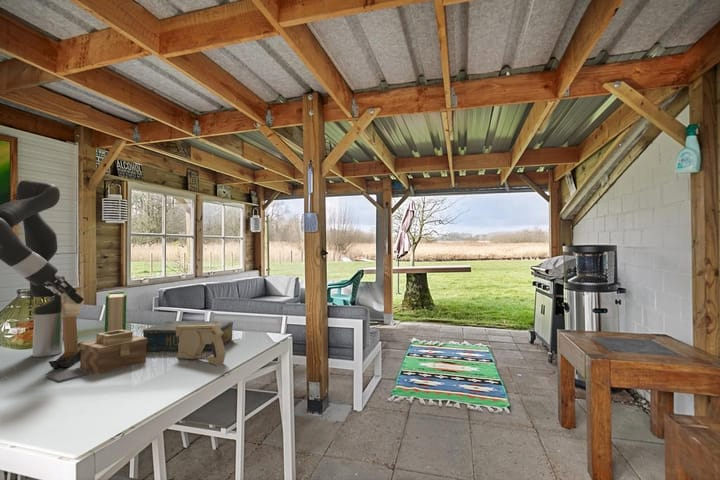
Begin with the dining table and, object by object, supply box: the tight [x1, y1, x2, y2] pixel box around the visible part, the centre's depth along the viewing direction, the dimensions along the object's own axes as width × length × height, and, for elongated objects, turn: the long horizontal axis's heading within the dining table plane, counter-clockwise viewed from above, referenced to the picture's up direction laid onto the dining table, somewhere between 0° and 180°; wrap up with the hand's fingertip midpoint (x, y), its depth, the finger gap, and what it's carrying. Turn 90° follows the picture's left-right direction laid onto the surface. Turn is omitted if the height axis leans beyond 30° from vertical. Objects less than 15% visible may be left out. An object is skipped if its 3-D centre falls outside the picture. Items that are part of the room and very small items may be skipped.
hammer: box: [48, 296, 84, 369], centre depth 131 cm, size 20×5×30 cm, turn 18°
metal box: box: [142, 320, 234, 353], centre depth 157 cm, size 21×32×10 cm, turn 90°
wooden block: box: [61, 286, 82, 317], centre depth 119 cm, size 4×4×10 cm
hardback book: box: [104, 291, 128, 332], centre depth 156 cm, size 18×7×24 cm, turn 35°
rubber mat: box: [45, 367, 92, 383], centre depth 118 cm, size 10×9×1 cm
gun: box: [176, 325, 226, 366], centre depth 135 cm, size 24×3×15 cm, turn 65°
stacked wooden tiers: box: [79, 329, 148, 375], centre depth 130 cm, size 15×17×12 cm
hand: (78, 301), depth 121 cm, fingers closed on wooden block, 4 cm apart
